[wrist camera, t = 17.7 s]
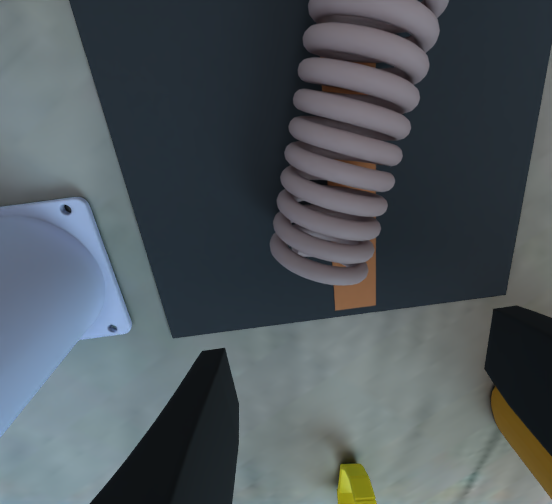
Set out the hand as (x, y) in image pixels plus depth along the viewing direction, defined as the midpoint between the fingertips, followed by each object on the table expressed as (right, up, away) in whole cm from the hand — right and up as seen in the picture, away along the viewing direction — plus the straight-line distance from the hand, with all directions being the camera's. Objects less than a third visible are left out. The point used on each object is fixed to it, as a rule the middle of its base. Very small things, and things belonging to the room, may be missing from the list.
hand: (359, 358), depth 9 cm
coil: (+1, +11, +6) cm, 12 cm away
